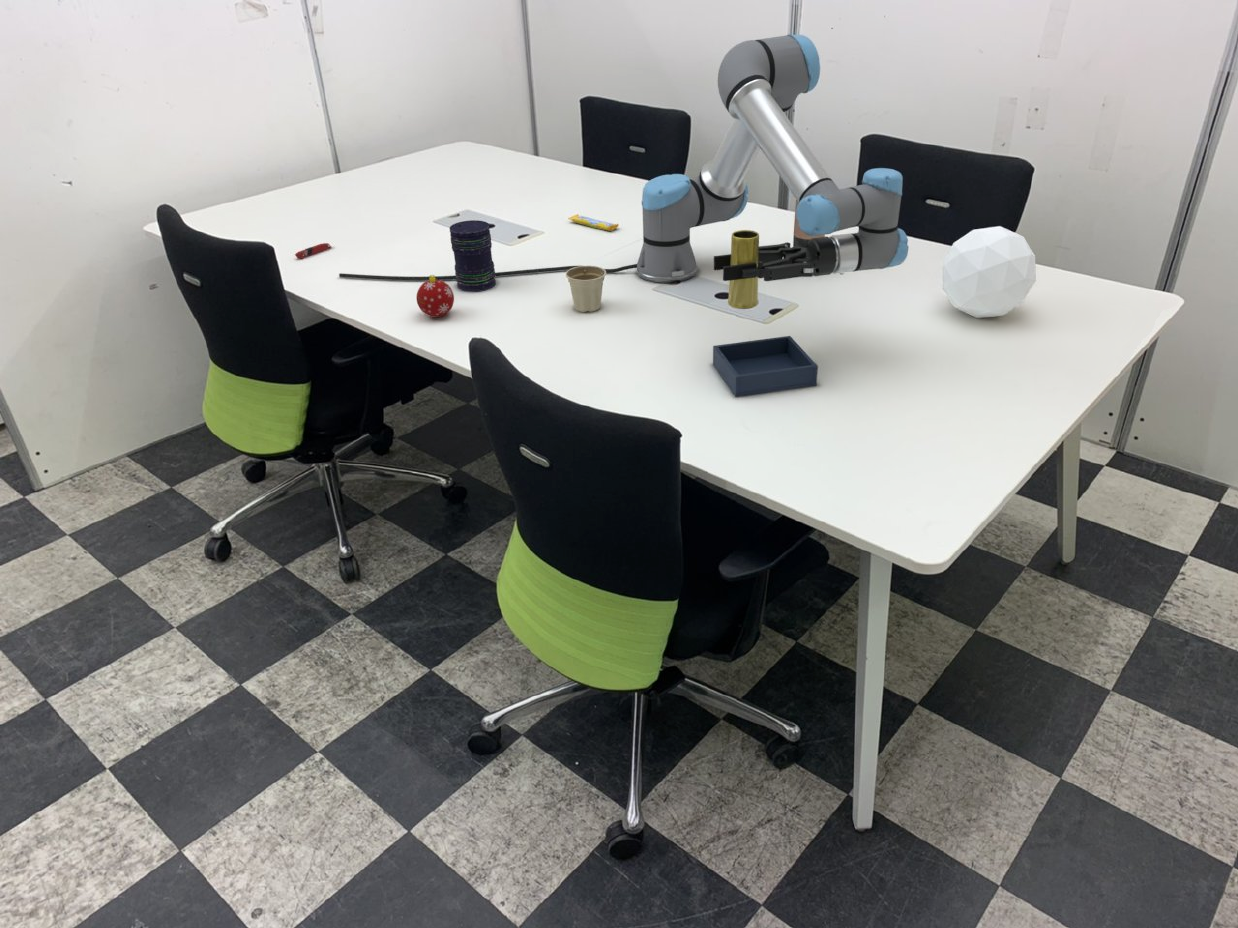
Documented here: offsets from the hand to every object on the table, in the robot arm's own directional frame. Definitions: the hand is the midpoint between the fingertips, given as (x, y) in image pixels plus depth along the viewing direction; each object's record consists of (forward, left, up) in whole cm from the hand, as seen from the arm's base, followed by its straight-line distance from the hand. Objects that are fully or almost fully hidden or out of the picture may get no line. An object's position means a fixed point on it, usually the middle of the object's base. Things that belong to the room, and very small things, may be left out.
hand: (719, 268), depth 182 cm
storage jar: (-70, +23, -20) cm, 77 cm away
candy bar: (-60, +74, -20) cm, 98 cm away
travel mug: (+6, +58, -20) cm, 62 cm away
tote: (+11, -3, -20) cm, 23 cm away
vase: (+4, +3, -8) cm, 10 cm away
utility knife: (-126, +30, -20) cm, 132 cm away
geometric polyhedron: (+49, +42, -20) cm, 67 cm away
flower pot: (-37, +18, -20) cm, 46 cm away
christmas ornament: (-69, +3, -20) cm, 72 cm away
